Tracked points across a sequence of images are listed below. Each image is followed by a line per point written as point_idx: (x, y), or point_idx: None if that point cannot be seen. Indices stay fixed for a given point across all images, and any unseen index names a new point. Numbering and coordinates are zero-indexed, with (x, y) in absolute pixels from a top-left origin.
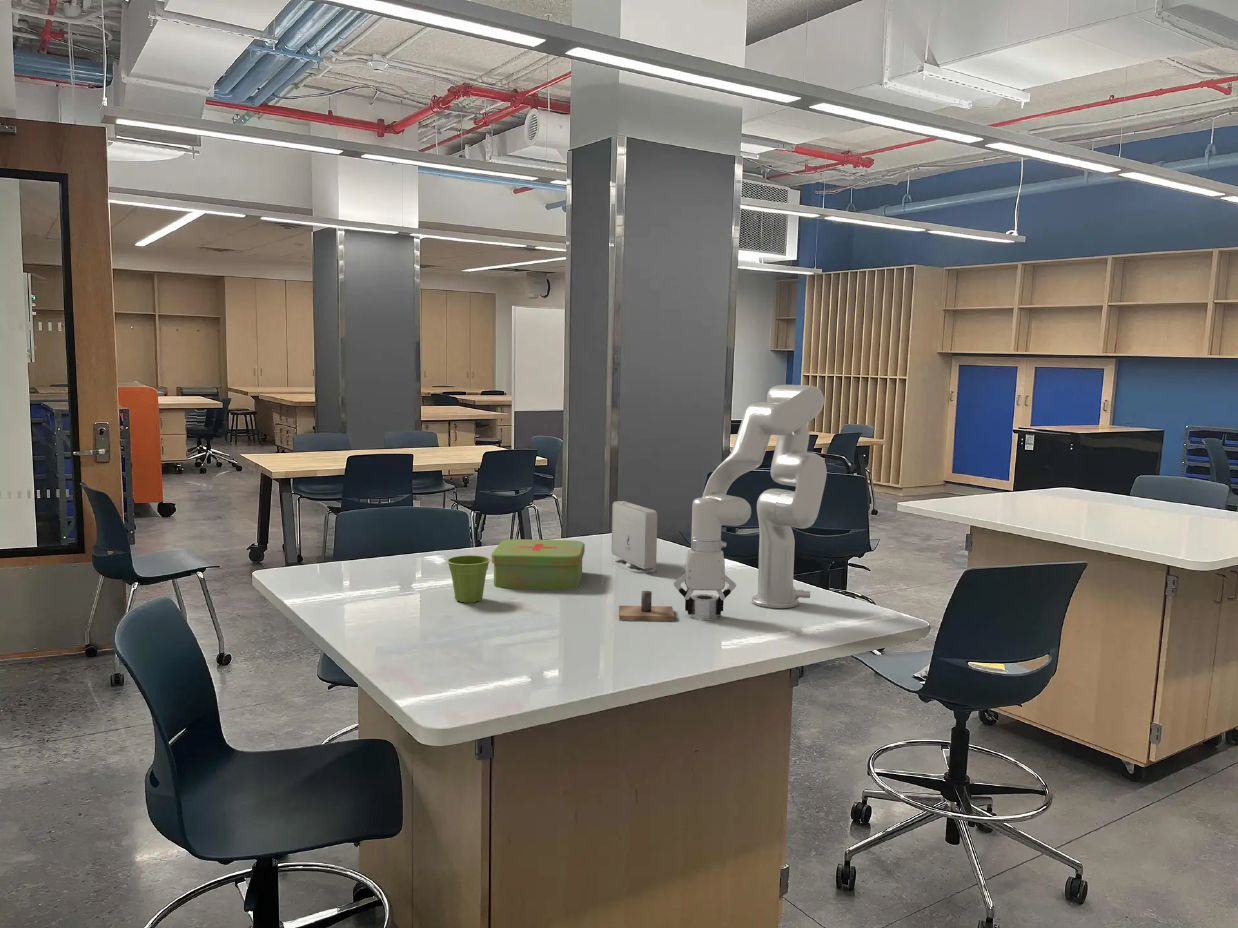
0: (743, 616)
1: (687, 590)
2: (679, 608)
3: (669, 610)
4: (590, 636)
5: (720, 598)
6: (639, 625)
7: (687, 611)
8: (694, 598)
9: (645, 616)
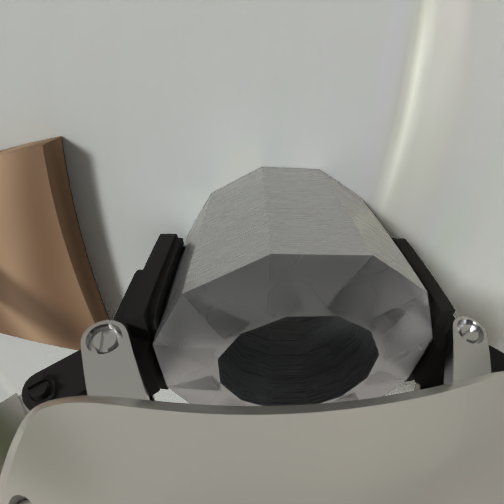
0: (490, 249)
1: (102, 395)
2: (109, 50)
3: (51, 255)
4: (2, 397)
5: (415, 386)
6: (31, 362)
7: (162, 235)
8: (197, 395)
9: (10, 333)
